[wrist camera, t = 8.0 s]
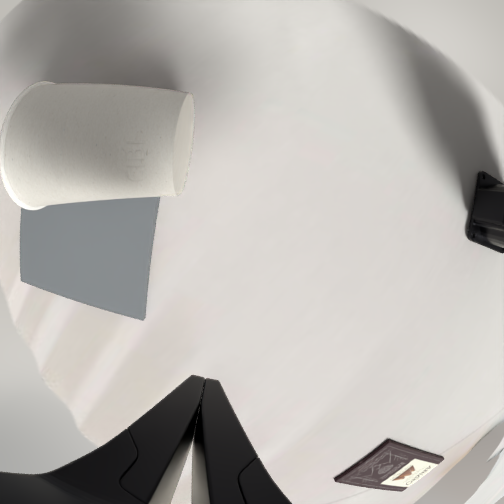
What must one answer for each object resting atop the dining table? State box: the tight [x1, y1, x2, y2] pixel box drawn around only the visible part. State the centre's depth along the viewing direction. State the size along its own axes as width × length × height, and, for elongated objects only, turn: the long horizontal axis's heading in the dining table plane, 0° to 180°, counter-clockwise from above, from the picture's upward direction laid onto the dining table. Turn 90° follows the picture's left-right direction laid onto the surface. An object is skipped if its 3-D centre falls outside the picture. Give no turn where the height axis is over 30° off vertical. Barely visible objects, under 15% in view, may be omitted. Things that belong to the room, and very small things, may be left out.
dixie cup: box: [0, 81, 195, 210], centre depth 14 cm, size 8×8×10 cm
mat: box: [20, 197, 160, 320], centre depth 18 cm, size 13×16×1 cm
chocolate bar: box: [334, 439, 444, 491], centre depth 27 cm, size 9×1×18 cm
